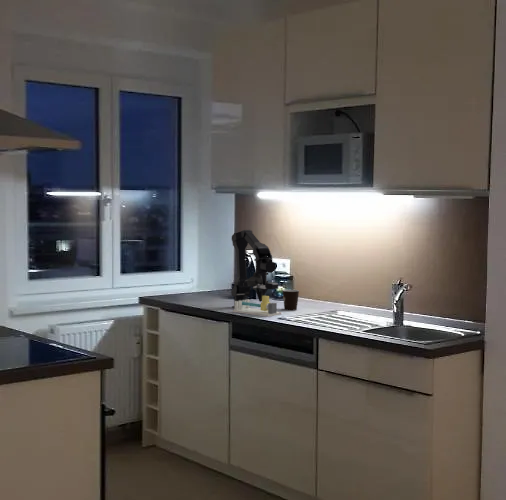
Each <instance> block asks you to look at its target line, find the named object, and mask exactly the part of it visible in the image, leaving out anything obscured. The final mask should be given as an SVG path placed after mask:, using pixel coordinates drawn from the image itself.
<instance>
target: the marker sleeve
mask: <svg viewBox="0 0 506 500" xmlns="http://www.w3.org/2000/svg"><path fill="white" fill-rule="evenodd" d="M268 303H271V302H270V296H269V295H264V296H262V301H261V302H260V304H261V307H260V310H261V311H268V310H267V309H266V304H268Z"/></svg>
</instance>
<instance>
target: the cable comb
mask: <svg viewBox="0 0 506 500" xmlns="http://www.w3.org/2000/svg"><path fill="white" fill-rule="evenodd" d="M250 301H251V300H250V299H249V298H247V299H246V300H242V301H235V307H234V309H232V312H233V313H239V314H247V315H253V316H259V317H275V316H280V315H282V312H281V311H277V313H274V314H269V313H268V311H261V308H260V309H259V308H251V306H247V305H242V302H248V303H251V302H250Z"/></svg>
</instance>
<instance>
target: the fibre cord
mask: <svg viewBox="0 0 506 500" xmlns="http://www.w3.org/2000/svg"><path fill="white" fill-rule="evenodd" d="M242 305H247V306H250V307H256V308H261V303H256V302H255V303H254V302H250V303H248V302H242ZM277 308H278V307H277V302H270V303H268V304H266V309H267V310H268V313H269V314H274V313H277V312H278V309H277Z"/></svg>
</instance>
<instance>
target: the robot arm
mask: <svg viewBox="0 0 506 500" xmlns="http://www.w3.org/2000/svg"><path fill="white" fill-rule="evenodd" d="M231 242H232V246H233V247H234V249H235V257H236V279H235V281H234V282H233V283H234V285H233V288H232V290H231V291H230V293H231V296H232V297H233V302H234V303H233V304H234V305H233V306H231V307H232V308H235V301H242V300H246V299H248V297H249V296H250V294H251V290H253V291H255V292H256V295H257V298H258V302H260V303H261V302H262V296H266V293H267V292H268V291H269V290H277V289H279V283H278V282H269V280H267V275H269V274H271V273H274V272H275V271H276V269H277V267H276V266H277V265H276V263H275V262H274V261H273V256H272V253H271V251H270V248H269V246H267V245H266V244H265V243H262V242H260V240H259V239H258V238H257V237H256V235H255V234H254V233H253V230H251V229H243V230H241V231H239V232H234V233H233V234H232V236H231ZM248 245H249V246H250V247H251V249H252V254H253V256H254V257H255V258H254V260H253V261H254V262H255V271H254V272H253V276H250V277H249V278H248V277H247V265H246V263H247V260H246V248H248V247H247V246H248Z"/></svg>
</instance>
